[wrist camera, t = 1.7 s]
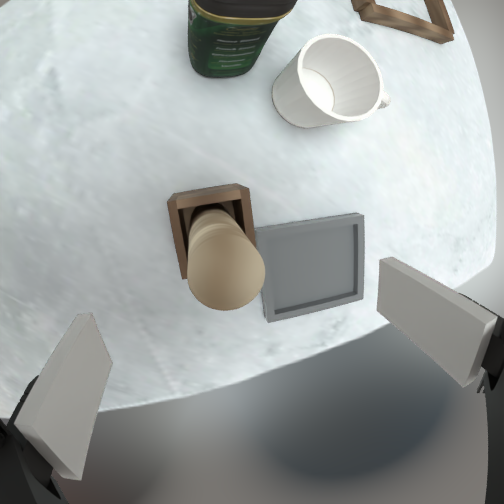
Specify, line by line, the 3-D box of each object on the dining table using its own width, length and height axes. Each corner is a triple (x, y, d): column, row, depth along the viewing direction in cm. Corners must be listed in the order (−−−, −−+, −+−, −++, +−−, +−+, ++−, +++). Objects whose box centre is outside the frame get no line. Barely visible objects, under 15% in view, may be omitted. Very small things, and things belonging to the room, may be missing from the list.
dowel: (193, 242, 33) (195, 316, 17) (187, 204, 31) (180, 244, 15) (231, 236, 33) (268, 302, 17) (226, 198, 32) (260, 231, 16)
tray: (264, 316, 38) (267, 322, 37) (254, 228, 34) (257, 231, 33) (357, 294, 40) (363, 299, 39) (356, 212, 37) (364, 215, 35)
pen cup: (184, 253, 34) (182, 279, 26) (173, 193, 31) (166, 201, 24) (244, 243, 35) (258, 265, 27) (236, 183, 33) (249, 188, 25)
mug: (260, 121, 31) (289, 103, 21) (275, 56, 29) (305, 20, 19) (344, 144, 34) (393, 141, 24) (354, 83, 31) (402, 65, 22)
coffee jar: (258, 77, 29) (324, 2, 12) (190, 82, 28) (189, -4, 11) (251, 13, 26) (300, -80, 9) (187, 15, 25) (190, -86, 8)
